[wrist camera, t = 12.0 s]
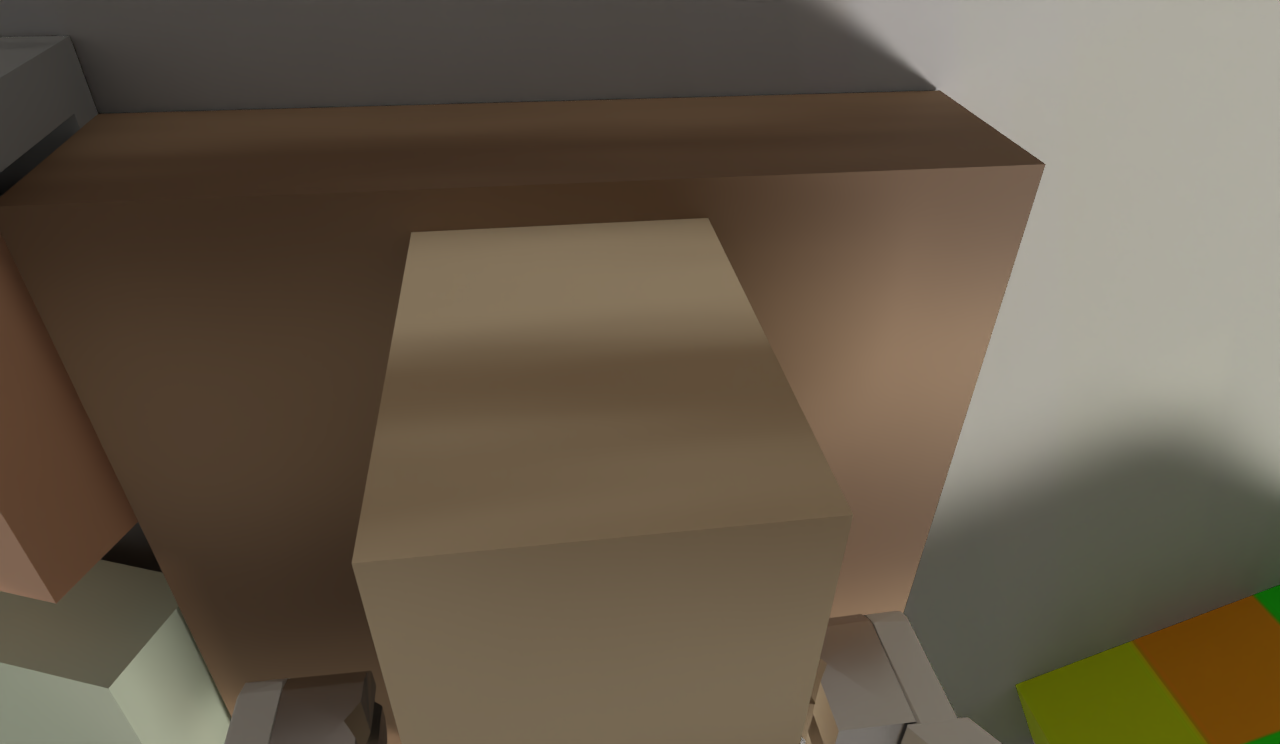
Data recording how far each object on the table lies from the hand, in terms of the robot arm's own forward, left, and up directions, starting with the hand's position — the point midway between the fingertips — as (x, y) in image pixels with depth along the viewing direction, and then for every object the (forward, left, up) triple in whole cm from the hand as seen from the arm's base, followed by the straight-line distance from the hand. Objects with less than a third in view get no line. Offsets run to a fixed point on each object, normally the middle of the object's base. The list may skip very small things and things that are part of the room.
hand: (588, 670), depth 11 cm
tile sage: (+3, -8, -4) cm, 10 cm away
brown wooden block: (0, 0, -5) cm, 5 cm away
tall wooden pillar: (0, 0, -2) cm, 2 cm away
